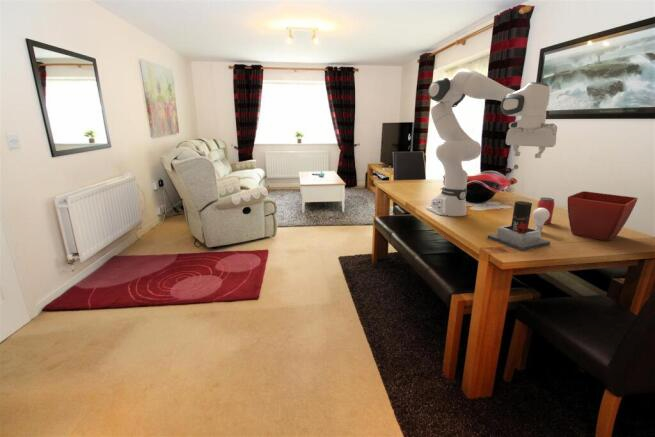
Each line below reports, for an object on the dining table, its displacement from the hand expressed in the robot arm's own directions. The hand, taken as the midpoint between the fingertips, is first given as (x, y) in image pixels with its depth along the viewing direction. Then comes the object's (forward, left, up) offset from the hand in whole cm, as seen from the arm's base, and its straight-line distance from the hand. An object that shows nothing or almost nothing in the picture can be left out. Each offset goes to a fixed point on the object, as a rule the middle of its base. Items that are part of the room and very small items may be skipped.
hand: (526, 157), depth 137 cm
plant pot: (+19, +24, -33) cm, 45 cm away
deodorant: (+11, -13, -32) cm, 36 cm away
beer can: (-2, +22, -33) cm, 40 cm away
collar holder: (+11, -13, -33) cm, 37 cm away
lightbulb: (+6, +7, -33) cm, 35 cm away
